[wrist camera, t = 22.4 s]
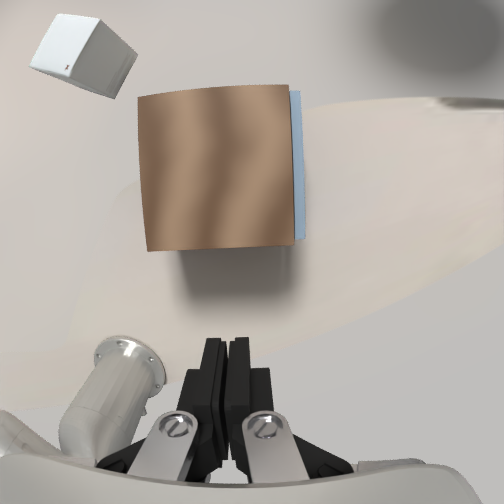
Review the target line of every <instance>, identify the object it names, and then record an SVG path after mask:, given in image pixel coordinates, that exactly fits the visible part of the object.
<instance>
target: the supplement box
mask: <svg viewBox="0 0 504 504" xmlns="http://www.w3.org/2000/svg"><path fill="white" fill-rule="evenodd" d="M137 56H138V54H137V53H136V52H135V51H134V50H133V49H132V48H131V47H130V46H129V45H128V44H127V43H126V42H124V41H123V40H122V39H121V38H120V37H119V36H118V35H117V34H116V33H115V32H113V31H112V30H111V29H110V28H109V27H108V26H107V25H106V24H105V23H104V22H103V21H101V19H97V18H92V17H85V16H77V15H68V14H57V16H56V17H55V19H54V21H53V22H52V24H51V26H50V27H49V29H48V31H47V33H46V34H45V36H44V38H43V40H42V42H41V44H40V45H39V47H38V49H37V51H36V53H35V55H34V57H33V59H32V61H31V63H30V65H29V67H30V68H32V69H35V70H37V71H39V72H42V73H45V74H47V75H50V76H53V77H55V78H58V79H61V80H63V81H65V82H68V83H70V84H73V85H75V86H77V87H80V88H82V89H85V90H88V91H90V92H93V93H97V94H100V95H103V96H106V97H109V98H112V99H115V97H116V95H117V93H118V91H119V90H120V88H121V86H122V84H123V82H124V80H125V78H126V76H127V74H128V72H129V70H130V69H131V67H132V65H133V63H134V62H135V60H136V58H137Z"/></svg>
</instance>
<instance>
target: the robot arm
mask: <svg viewBox="0 0 504 504" xmlns="http://www.w3.org/2000/svg"><path fill="white" fill-rule="evenodd" d="M94 364H95V368H94V370H93V371H92V373H91V374H90V376H89V377H88V379H87V380H86V382H85V383H84V385H83V386H82V388H81V389H80V391H79V392H78V394H77V395H76V397H75V398H74V400H73V401H72V403H71V404H70V406H69V408H68V409H67V410H66V412H65V413H64V415H63V417H62V419H61V421H60V424H59V442H60V448H61V451H60V450H59V449H56V448H55V447H54V446H52V445H51V444H50V443H49V442H47V441H46V440H44V439H43V438H42V437H40V436H39V435H38V434H37V433H35V432H34V431H33V430H31V429H30V428H29V427H28V426H26V425H25V424H24V423H23V422H22V421H20V420H19V419H18V418H16V417H15V416H14V415H12V414H11V413H9V412H7V411H5V410H0V504H482V502H481V500H480V499H479V497H478V495H477V494H476V492H475V491H474V489H473V488H472V487H471V485H470V484H469V483H468V482H467V480H466V479H465V478H464V477H463V476H462V475H461V474H460V473H459V472H458V471H456V470H455V469H453V468H450V467H448V466H444V465H436V464H426V463H425V462H423V461H422V460H419V459H413V458H409V459H399V460H383V461H359V462H358V464H349V463H348V462H347V461H345V460H343V459H341V458H339V457H337V456H335V455H333V454H331V453H329V452H327V451H324V450H323V449H320V448H319V447H316V446H315V445H313V444H311V443H309V442H307V441H305V440H303V439H301V438H299V437H298V436H296V435H294V434H292V432H291V429H290V427H289V424H288V422H287V420H286V419H285V417H283V416H282V415H281V414H279V413H277V412H274V407H273V398H272V388H271V378H270V369H269V368H251V367H250V349H249V337H236V338H235V341H230V346H229V356H228V355H227V345H226V341H221V338H207V339H206V343H205V348H204V352H203V357H202V361H201V366H200V369H188V370H187V372H186V376H185V380H184V383H183V387H182V391H181V395H180V398H179V402H178V405H177V409H176V411H171V412H167V413H165V414H163V415H161V416H160V417H159V418H158V419H157V420H156V422H155V423H154V425H153V427H152V429H151V431H150V432H149V434H148V436H147V437H146V438H144V439H142V440H140V441H138V442H136V443H134V444H132V445H130V444H131V442H132V439H133V436H134V433H135V431H136V428H137V426H138V423H139V420H140V418H141V416H145V415H146V414H147V413H146V410H145V405H146V402H147V399H148V398H151V397H153V396H155V395H157V394H158V393H159V392H160V391H161V389H162V387H163V385H164V381H165V371H164V367H163V365H162V363H161V361H160V359H159V358H158V357H157V355H156V354H155V353H154V352H153V351H152V350H151V349H150V348H148V347H147V346H146V345H144V344H142V343H141V342H139V341H137V340H134V339H132V338H128V337H121V336H116V337H110V338H107V339H106V340H104V341H102V342H101V344H100V345H99V346H98V347H97V349H96V351H95V354H94ZM229 444H230V450H231V456H232V460H235V461H236V467H237V468H238V469H239V470H240V471H242V472H243V473H244V474H246V475H247V479H248V484H216V483H209V482H210V478H211V474H210V473H211V472H213V471H214V470H215V469H217V468H222V460H228V449H229Z"/></svg>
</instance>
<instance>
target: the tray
mask: <svg viewBox="0 0 504 504" xmlns="http://www.w3.org/2000/svg"><path fill="white" fill-rule="evenodd" d="M289 102H290V120H291V142H292V168H293V203H294V239H305V192H304V157H303V133H302V114H301V97H300V91H289Z"/></svg>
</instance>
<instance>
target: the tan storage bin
mask: <svg viewBox="0 0 504 504" xmlns="http://www.w3.org/2000/svg"><path fill="white" fill-rule="evenodd" d="M138 141H139V163H140V180H141V193H142V205H143V216H144V226H145V235H146V244H147V252H151V251H172V250H194V249H216V248H238V247H261V246H285V245H294V203H293V168H292V142H291V120H290V102H289V86H288V85H242V86H225V87H212V88H201V89H191V90H182V91H175V92H167V93H160V94H154V95H148V96H142V97H138Z"/></svg>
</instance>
